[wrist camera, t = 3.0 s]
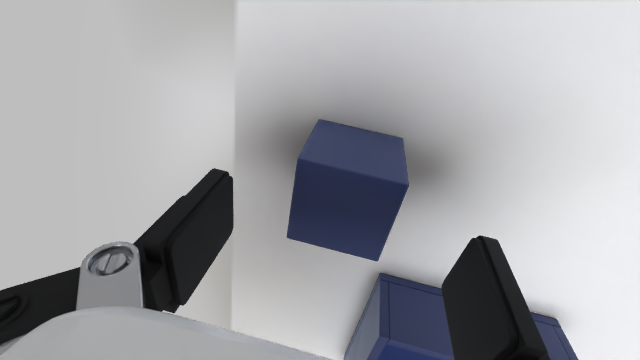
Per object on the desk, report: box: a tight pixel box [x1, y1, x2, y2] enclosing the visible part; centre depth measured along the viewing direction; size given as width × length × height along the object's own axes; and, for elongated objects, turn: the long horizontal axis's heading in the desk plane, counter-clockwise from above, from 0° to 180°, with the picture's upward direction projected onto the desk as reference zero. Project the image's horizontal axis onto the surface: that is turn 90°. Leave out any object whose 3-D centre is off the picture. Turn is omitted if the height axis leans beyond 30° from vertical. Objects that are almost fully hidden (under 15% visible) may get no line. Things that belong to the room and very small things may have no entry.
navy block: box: [287, 120, 409, 261], centre depth 14 cm, size 4×4×4 cm
